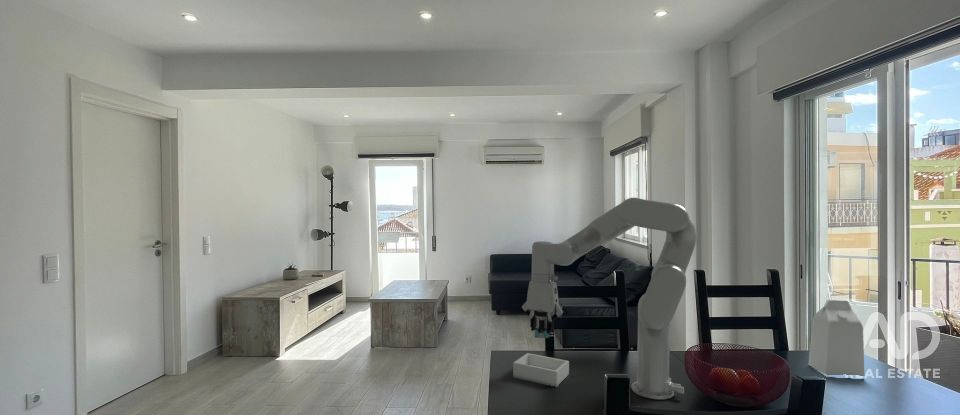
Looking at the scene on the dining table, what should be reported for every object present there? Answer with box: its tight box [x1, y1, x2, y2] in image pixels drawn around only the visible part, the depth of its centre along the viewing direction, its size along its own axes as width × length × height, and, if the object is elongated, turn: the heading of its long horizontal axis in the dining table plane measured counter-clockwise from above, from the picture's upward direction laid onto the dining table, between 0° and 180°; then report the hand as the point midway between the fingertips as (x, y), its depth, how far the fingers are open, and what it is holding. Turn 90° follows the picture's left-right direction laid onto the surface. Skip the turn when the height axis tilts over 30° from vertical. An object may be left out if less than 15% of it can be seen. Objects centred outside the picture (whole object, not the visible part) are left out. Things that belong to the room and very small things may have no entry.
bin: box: [512, 352, 570, 388], centre depth 159 cm, size 16×12×5 cm
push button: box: [534, 311, 555, 339], centre depth 158 cm, size 7×5×10 cm
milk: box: [808, 298, 866, 376], centre depth 165 cm, size 12×12×26 cm
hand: (541, 330), depth 159 cm, fingers closed on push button, 5 cm apart
